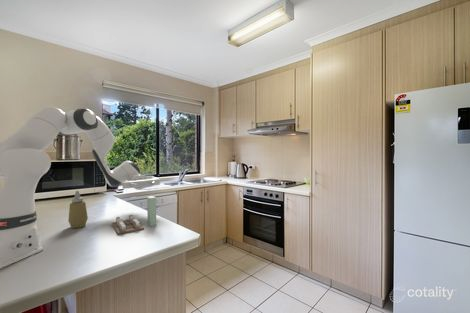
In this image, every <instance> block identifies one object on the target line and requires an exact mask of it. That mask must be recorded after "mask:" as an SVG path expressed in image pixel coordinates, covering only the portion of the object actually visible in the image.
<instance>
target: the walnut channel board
mask: <svg viewBox="0 0 470 313" xmlns="http://www.w3.org/2000/svg"><path fill="white" fill-rule="evenodd" d="M111 224H112V226H113V228H114V230H115V232H116V234H117V236H120V235H124V234H130V233H134V232H138V231H143V230H145V227H144V226H143V225H142V223H140V221H139V220H138V219H137V218H136V217H135V216H134V215H133V214H129V215H128V219H125V220H122V219H121V217H120V216H117V217H115V221H114V222H112V223H111Z"/></svg>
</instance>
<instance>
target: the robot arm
mask: <svg viewBox="0 0 470 313" xmlns="http://www.w3.org/2000/svg"><path fill="white" fill-rule="evenodd" d="M82 133H84V134H86V136H87V137H88V139H89V140H90V141H91V143H92V145H93V146H92V147H93V148H92V150H91V153H92V156H93V158H94V160H95V161H96V164H97V165H98V167H99V169H100V171H101V173H102V174H103V177H104V179H105V182H106V183H107V184H108V186H109V187H111V188H118V187H120V186H122V189H123V190H125V189H135V190H136V191H137V190H143V189H145V188H151V187H155V186H160V185H161V179H160V178H158V177H156V176H154V175H143V174H141V170H140V167H139V166H138V165H137V164H136V163H135V162H134V161H131V160H124V162H122V163H120V164H119V165H118V166H116V167H115V168H113V169H112V170H111V169H110V167H109V166H108V163H107V161H106V158H107V155H108V153H109V152H110V150H111V149H112V148H113V147H114V145H115V141H116V139H115V136H114V134H113V132H112V131H111V130H110V128H109V127H108V126H107V125H106V123H105V122H104V121H103V120H102V119H101V118H100V117H99V116H97V115H96V114H95V112H93V110H90V109H88V108H77V109H73V110H69V111H68V110H67V111H66V112H64V111H63V110H62V109H60V108H58V107H56V106H53V105H49V106H48V105H47V106H45V107H43V108H41V109H39V110H38V111H37V112H36V113H34V114H33V115H32V116H30V118H28V120H27V121H25V123H23V125H22V126H21V127H20V128H19V129H18V130H17V131H16V132H14V133H13V134H11V135H10V136H8V137H7V138H5V139H4V140H2V141H1V142H0V179H4V181H3V184H2V186H1V188H0V269H3V268H6V267H7V266H9V265H12V264H14V263H16V262H19V261H22V260H23V259H26V258H28V257H31V256H33V255H35V254H37V253H40V252H43V250H44V247H43V246H42V243H41V239H40V235H39V229H38V227H37V222H36V221H37V216H38V215H37V210H35V208H36V207H35V197H36V196H35V194H36V189H37V186H38V183H39V182H40V179H41V178H42V177H43V176H44V175H45V174H47V173H48V171H49V170H50V168H51V165H52V160H51V157H50V155H49V154H48V153H47V152H46V151H45V150H46V149H48V148H49V146H50V145H51V144H52V143H53V142H54V140H55V139H56V138H57V136H58V135H60V136H70V135H75V134H82Z"/></svg>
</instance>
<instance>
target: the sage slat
mask: <svg viewBox="0 0 470 313" xmlns="http://www.w3.org/2000/svg"><path fill="white" fill-rule="evenodd" d="M146 206H147V208H146V210H147V214H146V215H147V225H148V226H149V227H154V226H157V223H158V222H157V197H155V196H154V195H149V196H147V197H146Z"/></svg>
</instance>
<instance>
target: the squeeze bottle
mask: <svg viewBox="0 0 470 313" xmlns="http://www.w3.org/2000/svg"><path fill="white" fill-rule="evenodd" d="M88 219H89V216H88V211H87V204H86V202H85V200H84V197H82V196H81V194H80V191H79V190H76V191H75V193H74V197H73V198H71V203H69V210H68V220H67V222H68V223H69V226H70V228H71V229H77V228H78V229H79V228H83V227H84V226H86V224H87V221H88Z"/></svg>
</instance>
